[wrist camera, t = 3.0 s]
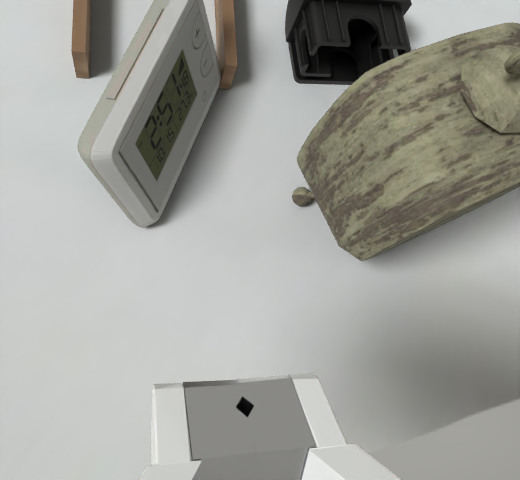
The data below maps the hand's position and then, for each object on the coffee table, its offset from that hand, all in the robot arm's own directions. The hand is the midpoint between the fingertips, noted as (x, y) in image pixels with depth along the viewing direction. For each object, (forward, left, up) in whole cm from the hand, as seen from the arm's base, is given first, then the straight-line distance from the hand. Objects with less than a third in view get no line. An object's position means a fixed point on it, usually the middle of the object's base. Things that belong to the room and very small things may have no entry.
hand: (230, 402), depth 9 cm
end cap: (-17, -30, -29) cm, 46 cm away
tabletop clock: (-18, -14, -29) cm, 37 cm away
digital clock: (0, -20, -29) cm, 36 cm away
